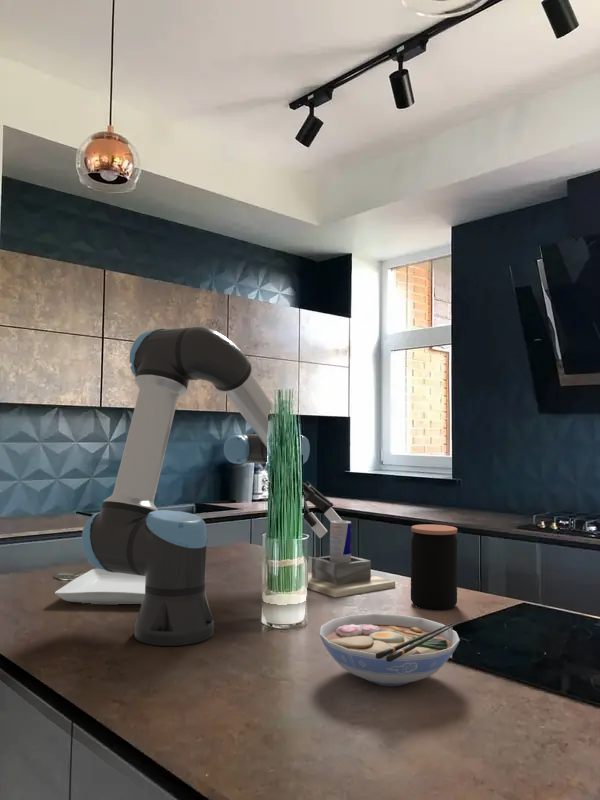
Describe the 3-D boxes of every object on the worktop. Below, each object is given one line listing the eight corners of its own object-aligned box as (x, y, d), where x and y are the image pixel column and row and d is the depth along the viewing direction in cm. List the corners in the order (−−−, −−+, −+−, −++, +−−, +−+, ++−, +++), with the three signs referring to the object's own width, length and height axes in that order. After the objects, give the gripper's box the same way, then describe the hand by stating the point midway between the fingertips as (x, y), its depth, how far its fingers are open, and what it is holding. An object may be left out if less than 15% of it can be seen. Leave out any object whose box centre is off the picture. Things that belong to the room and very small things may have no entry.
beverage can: (349, 581, 172) (350, 522, 172) (328, 580, 172) (328, 522, 173) (351, 577, 177) (352, 520, 178) (330, 576, 178) (331, 519, 179)
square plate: (173, 611, 148) (174, 593, 148) (51, 608, 149) (52, 591, 149) (195, 583, 175) (195, 568, 175) (91, 581, 176) (92, 566, 176)
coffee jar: (454, 600, 160) (454, 525, 161) (460, 612, 149) (460, 531, 150) (409, 598, 161) (409, 523, 162) (412, 610, 150) (412, 530, 151)
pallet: (395, 587, 173) (395, 561, 173) (335, 597, 161) (335, 570, 161) (345, 573, 189) (346, 550, 189) (287, 581, 177) (288, 556, 178)
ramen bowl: (371, 645, 125) (371, 600, 126) (486, 674, 111) (486, 624, 111) (284, 682, 106) (285, 630, 107) (410, 723, 92) (411, 663, 92)
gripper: (294, 479, 197) (341, 534, 190) (254, 484, 174) (305, 547, 167) (311, 461, 195) (359, 517, 188) (272, 464, 172) (325, 527, 165)
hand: (333, 531), depth 177 cm, fingers open, 13 cm apart
